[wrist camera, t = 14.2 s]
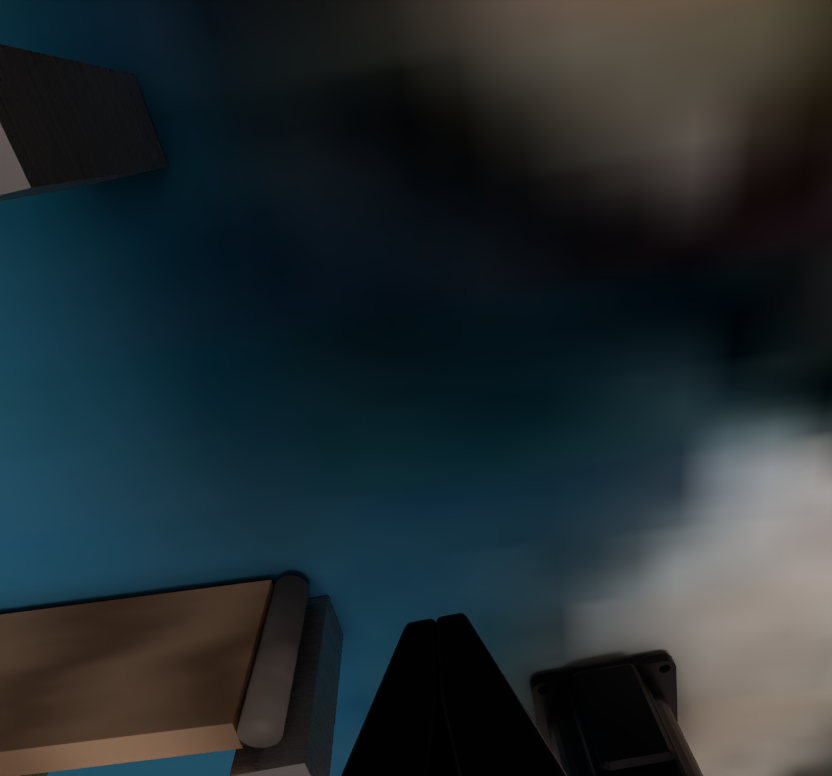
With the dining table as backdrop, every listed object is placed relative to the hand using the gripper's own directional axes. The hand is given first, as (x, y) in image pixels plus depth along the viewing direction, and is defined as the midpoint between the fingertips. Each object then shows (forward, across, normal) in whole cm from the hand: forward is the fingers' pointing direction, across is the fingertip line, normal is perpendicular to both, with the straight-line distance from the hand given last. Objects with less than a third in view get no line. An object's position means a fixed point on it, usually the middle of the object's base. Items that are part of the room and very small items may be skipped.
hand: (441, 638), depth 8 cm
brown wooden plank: (+12, +14, +9) cm, 20 cm away
